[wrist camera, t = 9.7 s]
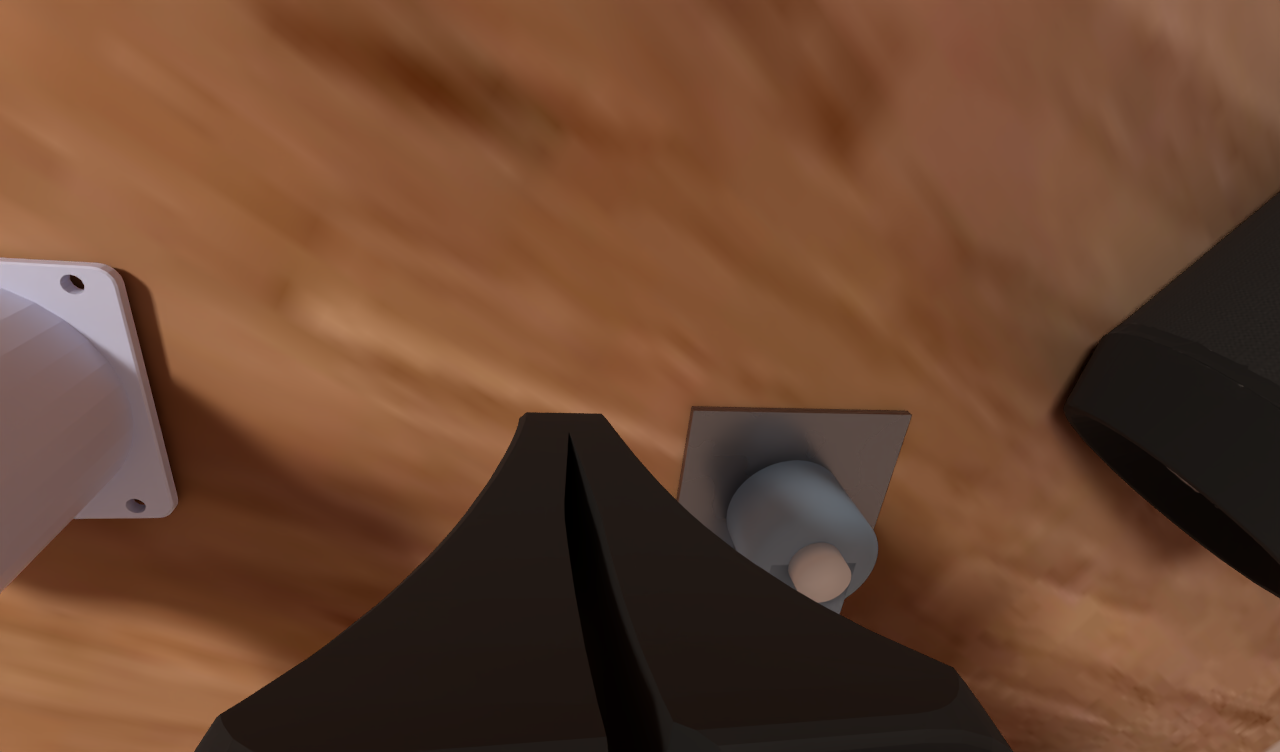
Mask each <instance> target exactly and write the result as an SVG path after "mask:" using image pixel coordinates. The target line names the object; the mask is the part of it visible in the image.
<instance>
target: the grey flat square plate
mask: <svg viewBox="0 0 1280 752" xmlns="http://www.w3.org/2000/svg"><path fill="white" fill-rule="evenodd" d="M911 416H912V415H911V414H910V413H909V412H908V411H890V410H841V409H793V408H745V407H696V406H692V407H691V414H690V420H689V426H688V432H687V438H686V444H685V450H684V457H683V463H682V469H681V475H680V481H679V487H678V494H677V501H678V502H679V503H680V504H681V505H682V506H683V507H684V508H685V509H686V510H687V511H688V512H689V513H691V514H692V515H693V516H694V517H695V518H696V519H697V520H699V521H700V522H701V523H702V524H703V525H704V526H706V527H707V528H708V529H709V530H711V531H712V532H713V533H714V534H716V535H717V536H718V537H719V538H721V539H722V540H723V541H725V542H726V543H727V544H728V545H730V546H731V547H732V548H733V549H735V550H736V548H735V546H734V543H733V541H732V539H731V536H730V534H729V531H728V528H727V520H726V517H727V510H728V507H729V504H730V501H731V499H732V497H733V496H734V494H735V492H736V491H737V490H738V488H739V487H740V486H741V485H742V484H743V483H744V482H745V481H746V480H747V479H748V478H749V477H751V476H752V475H753V474H755V473H756V472H758V471H760V470H762V469H764V468H765V467H768V466H770V465H773V464H776V463H780V462H784V461H792V460H802V461H809V462H813V463H816V464H819V465H821V466H823V467H825V468H826V469H827V470H829V471H830V472H831V473H832V474H833V475H834V476H835V478H836V479H837V480H838V482H839V483H840V485H841V486H842V487H843V489H844V490H845V491H846V493H847V494H848V496H849V497H850V498H851V500H852V501H853V503H854V504H855V505H856V507H857V508H858V510H859V511H860V512H861V514H862V515H863V516H864V518H865V519H866V521H867V522H868V523H869V525H870V526H871V528H872V529H873V530H874V527H875V524H876V521H877V518H878V515H879V512H880V509H881V506H882V503H883V500H884V497H885V494H886V491H887V488H888V485H889V482H890V479H891V476H892V473H893V470H894V467H895V464H896V461H897V458H898V455H899V452H900V449H901V446H902V443H903V440H904V437H905V434H906V431H907V428H908V425H909V422H910V419H911Z"/></svg>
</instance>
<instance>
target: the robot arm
mask: <svg viewBox="0 0 1280 752" xmlns="http://www.w3.org/2000/svg"><path fill="white" fill-rule="evenodd" d="M70 275H74V276H76V277H78V278H79V279H81V280H82V282H83V284H84V289H80V288H78V287H76V286H75V285H73V283H72V282H71V280H70ZM134 499H138V500H140V501H142V502H143V503H144V504H145V505H142V504H138V503H137V502H135V501H134ZM177 505H178V496H177V492H176V488H175V484H174V480H173V476H172V472H171V468H170V464H169V460H168V456H167V452H166V448H165V444H164V440H163V436H162V432H161V428H160V424H159V420H158V416H157V412H156V408H155V404H154V400H153V396H152V392H151V388H150V384H149V380H148V376H147V372H146V368H145V364H144V360H143V356H142V352H141V348H140V344H139V340H138V336H137V332H136V328H135V324H134V320H133V316H132V312H131V308H130V304H129V300H128V296H127V292H126V288H125V284H124V281H123V279H122V277H121V275H120V274H119V273H118V272H117V271H116V270H115V269H113V268H112V267H110V266H108V265H105V264H101V263H92V262H73V261H55V260H36V259H17V258H0V593H1V592H2V591H3V590H4V589H5V588H6V587H7V586H8V585H9V584H10V583H11V582H12V581H13V580H14V579H15V578H16V577H17V576H18V575H19V574H20V573H21V572H22V571H23V570H24V569H25V568H26V567H27V565H28V564H29V563H30V562H31V561H32V560H33V559H34V558H35V557H36V556H37V555H38V554H39V553H40V552H41V551H42V550H43V549H44V548H45V547H46V546H47V545H48V544H49V543H50V542H51V541H52V540H53V539H54V538H55V537H56V536H57V535H58V534H59V533H60V532H61V531H62V530H63V529H64V528H65V527H66V526H67V524H68V523H69V522H70V521H71V520H72V519H114V518H162V517H166V516H168V515H170V514H171V513H172V511H173V510H174V509H175V508H176V506H177ZM194 752H1013V751H1012V749H1011V748H1010V746H1009V745H1008V743H1007V742H1006V740H1005V739H1004V738H1003V736H1002V735H1001V733H1000V732H999V730H998V729H997V727H996V726H995V724H994V723H993V721H992V720H991V719H990V717H989V716H988V714H987V713H986V711H985V710H984V708H983V707H982V705H981V704H980V703H979V701H978V700H977V698H976V697H975V696H974V694H973V693H972V692H971V690H970V689H969V687H968V686H967V685H966V683H965V682H964V681H963V679H962V678H961V677H960V676H959V674H958V673H957V672H956V670H955V669H954V668H953V667H950V666H948V665H946V664H944V663H942V662H939V661H937V660H935V659H933V658H930V657H928V656H926V655H924V654H921V653H919V652H917V651H915V650H912V649H910V648H908V647H906V646H904V645H901V644H899V643H897V642H895V641H892V640H890V639H888V638H886V637H883V636H881V635H879V634H877V633H874V632H872V631H870V630H868V629H866V628H864V627H862V626H860V625H858V624H856V623H854V622H853V621H851V620H849V619H847V618H845V617H843V616H841V615H839V614H838V613H836V612H834V611H832V610H830V609H828V608H826V607H824V606H823V605H821V604H819V603H817V602H815V601H814V600H812V599H810V598H809V597H807V596H805V595H803V594H802V593H800V592H798V591H796V590H795V589H793V588H791V587H790V586H788V585H787V584H785V583H784V582H782V581H781V580H779V579H777V578H776V577H774V576H773V575H771V574H770V573H768V572H767V571H765V570H764V569H762V568H761V567H759V566H757V565H756V564H754V563H753V562H752V561H750V560H749V559H747V558H746V557H745V556H743V555H742V554H740V553H739V552H737V551H736V550H735V549H733V548H732V547H731V546H730V545H728V544H727V543H726V542H725V541H723V540H722V539H721V538H719V537H718V536H717V535H716V534H714V533H713V532H712V531H711V530H709V529H708V528H707V527H706V526H704V525H703V524H702V523H701V522H700V521H699V520H697V519H696V518H695V517H694V516H693V515H692V514H691V513H689V512H688V511H687V510H686V509H685V508H684V507H683V506H682V505H681V504H680V503H679V502H678V501H677V500H676V499H675V498H674V497H673V496H672V495H671V494H670V493H669V492H668V491H667V490H666V489H665V488H664V487H663V486H662V485H661V484H660V483H659V482H658V481H657V480H656V479H655V477H654V476H653V475H652V474H651V473H650V472H649V471H648V470H647V469H646V467H645V466H644V465H643V464H642V463H641V462H640V461H639V459H638V458H637V457H636V456H635V455H634V453H633V452H632V451H631V450H630V449H629V447H628V446H627V445H626V444H625V442H624V441H623V440H622V439H621V437H620V436H619V435H618V433H617V432H616V431H615V430H614V428H613V427H612V426H611V424H610V423H609V422H608V420H607V419H606V418H605V417H604V416H603V415H602V414H584V413H529V412H527V413H525V414H524V415H523V416H522V417H521V418H519V423H518V427H517V430H516V432H515V435H514V437H513V439H512V441H511V443H510V445H509V447H508V449H507V451H506V453H505V455H504V457H503V459H502V460H501V462H500V464H499V465H498V467H497V469H496V470H495V472H494V474H493V475H492V477H491V479H490V480H489V482H488V483H487V485H486V486H485V487H484V489H483V490H482V492H481V493H480V494H479V496H478V497H477V498H476V500H475V501H474V503H473V504H472V505H471V507H470V508H469V509H468V511H467V512H466V514H465V515H464V516H463V517H462V519H461V520H460V521H459V522H458V524H457V525H456V526H455V527H454V528H453V530H452V531H451V532H450V533H449V534H448V535H447V537H446V538H445V539H444V540H443V541H442V542H441V543H440V544H439V545H438V546H437V548H436V549H435V550H434V551H433V552H432V553H431V554H430V555H429V556H428V557H427V558H426V559H425V560H424V561H423V562H422V563H421V564H420V565H419V566H418V567H417V568H416V569H415V570H414V571H413V572H412V573H411V574H410V575H409V576H408V577H407V578H406V579H405V580H404V581H403V582H402V583H401V584H400V585H399V586H397V587H396V588H395V589H394V590H393V591H392V592H391V593H390V594H389V595H387V596H386V597H385V598H384V599H383V600H382V601H381V602H379V603H378V604H377V605H376V606H375V607H373V608H372V609H371V610H370V611H368V612H367V613H366V614H365V615H363V616H362V617H361V618H360V619H358V620H357V621H356V622H355V623H353V624H352V625H351V626H350V627H348V628H347V629H346V630H345V631H343V632H342V633H341V634H339V635H338V636H337V637H336V638H334V639H333V640H332V641H331V642H329V643H328V644H327V645H326V646H324V647H323V648H321V649H320V650H319V651H317V652H316V653H315V654H313V655H312V656H310V657H309V658H308V659H306V660H305V661H303V662H301V663H300V664H298V665H297V666H295V667H294V668H292V669H291V670H289V671H288V672H286V673H285V674H283V675H281V676H280V677H278V678H277V679H275V680H274V681H272V682H271V683H269V684H268V685H266V686H265V687H263V688H261V689H260V690H258V691H257V692H255V693H254V694H252V695H251V696H249V697H248V698H246V699H245V700H243V701H241V702H240V703H238V704H237V705H235V706H233V707H232V708H230V709H228V710H227V711H225V712H223V713H222V714H220V715H219V716H218V717H217V718H216V719H215V721H214V722H213V724H212V725H211V727H210V728H209V730H208V731H207V733H206V734H205V736H204V737H203V739H202V740H201V742H200V743H199V745H198V747H197V748H196V750H195V751H194Z"/></svg>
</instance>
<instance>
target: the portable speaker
mask: <svg viewBox="0 0 1280 752" xmlns="http://www.w3.org/2000/svg"><path fill="white" fill-rule="evenodd" d="M1063 410H1064V413H1065V415H1066V418H1067V420H1068V421H1069V423H1070V424H1071V425H1072V426H1073V428H1074V429H1075V430H1076V432H1077V433H1078V434H1079V435H1080V437H1081V438H1082V439H1083V440H1084V441H1085V442H1086V444H1087V445H1088V446H1089V447H1090V448H1091V449H1092V450H1093V451H1094V452H1095V453H1096V454H1097V455H1098V456H1099V457H1100V458H1101V459H1102V460H1103V461H1104V462H1105V463H1106V464H1107V465H1108V466H1109V467H1110V468H1111V469H1112V470H1113V471H1114V472H1115V473H1116V474H1118V475H1119V476H1120V477H1121V478H1122V479H1123V480H1124V481H1125V482H1126V483H1127V484H1128V485H1130V486H1131V487H1132V488H1133V489H1134V490H1135V491H1136V492H1137V493H1138V494H1140V495H1141V496H1142V497H1143V498H1144V499H1145V500H1147V501H1148V502H1149V503H1150V504H1151V505H1152V506H1154V507H1155V508H1156V509H1157V510H1158V511H1159V512H1161V513H1162V514H1163V515H1164V516H1166V517H1167V518H1168V519H1169V520H1171V521H1172V522H1173V523H1174V524H1175V525H1177V526H1178V527H1179V528H1180V529H1182V530H1183V531H1184V532H1185V533H1186V534H1188V535H1189V536H1190V537H1192V538H1193V539H1194V540H1196V541H1197V542H1198V543H1200V544H1201V545H1202V546H1204V547H1205V548H1206V549H1208V550H1209V551H1210V552H1211V553H1213V554H1214V555H1215V556H1217V557H1218V558H1219V559H1221V560H1222V561H1224V562H1225V563H1226V564H1228V565H1229V566H1231V567H1232V568H1234V569H1235V570H1237V571H1238V572H1239V573H1241V574H1242V575H1244V576H1245V577H1247V578H1248V579H1250V580H1251V581H1252V582H1254V583H1256V584H1257V585H1259V586H1260V587H1262V588H1264V589H1265V590H1267V591H1269V592H1270V593H1272V594H1274V595H1275V596H1277V597H1279V598H1280V192H1279V193H1278V194H1277V195H1276V196H1274V197H1273V198H1272V199H1271V200H1270V201H1268V202H1267V203H1266V204H1265V205H1264V206H1262V207H1261V208H1260V209H1259V210H1258V211H1256V212H1255V213H1254V214H1253V215H1252V216H1250V217H1249V218H1248V219H1247V220H1246V221H1244V222H1243V223H1242V224H1241V225H1240V226H1238V227H1237V228H1236V229H1235V230H1234V231H1232V232H1231V233H1230V234H1229V235H1228V236H1226V237H1225V238H1224V239H1223V240H1222V241H1220V242H1219V243H1218V244H1217V245H1216V246H1214V247H1213V248H1212V249H1211V250H1210V251H1208V252H1207V253H1206V254H1205V255H1204V256H1202V257H1201V258H1200V259H1199V260H1198V261H1196V262H1195V263H1194V264H1193V265H1192V266H1190V267H1189V268H1188V269H1187V270H1186V271H1184V272H1183V273H1182V274H1181V275H1180V276H1178V277H1177V278H1176V279H1175V280H1174V281H1172V282H1171V283H1170V284H1169V285H1168V286H1166V287H1165V288H1164V289H1163V290H1162V291H1160V292H1159V293H1158V294H1157V295H1156V296H1154V297H1153V298H1152V299H1151V300H1150V301H1148V302H1147V303H1146V304H1145V305H1144V306H1142V307H1141V308H1140V309H1139V310H1138V311H1136V312H1135V313H1134V314H1133V315H1132V316H1130V317H1129V318H1128V319H1127V320H1125V321H1124V322H1123V323H1121V324H1120V325H1119V326H1117V327H1116V328H1115V329H1113V330H1112V331H1111V332H1109V333H1108V334H1107V335H1105V336H1103V337H1102V338H1101V340H1100V342H1099V343H1098V345H1097V347H1096V349H1095V350H1094V352H1093V354H1092V356H1091V358H1090V359H1089V361H1088V363H1087V365H1086V367H1085V368H1084V370H1083V372H1082V374H1081V376H1080V377H1079V379H1078V381H1077V383H1076V385H1075V386H1074V388H1073V390H1072V392H1071V394H1070V395H1069V397H1068V399H1067V401H1066V403H1065V405H1064V409H1063Z"/></svg>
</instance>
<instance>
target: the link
mask: <svg viewBox="0 0 1280 752" xmlns="http://www.w3.org/2000/svg"><path fill="white" fill-rule="evenodd" d="M726 520H727V528H728V531H729V534H730V536H731V539H732V541H733V543H734V546H735V548H736V551H737V552H739V553H740V554H742V555H743V556H745V557H746V558H747V559H749V560H750V561H752V562H753V563H754V564H756V565H757V566H759V567H761V568H762V569H764V570H765V571H767V572H768V573H770V574H771V575H773V576H774V577H776V578H777V579H779V580H781V581H782V582H784V583H785V584H787V585H788V586H790V587H791V588H793V589H795V590H796V591H798V592H800V593H802V594H803V595H805V596H807V597H809V598H810V599H812V600H814V601H815V602H817V603H819V604H821V605H823V606H824V607H826V608H828V609H830V610H832V611H834V612H836V613H838V614H840V611H841V608H842V605H843V602H844V599H845V598H847V597H848V596H849V595H851V594H852V593H853V592H855V591H856V590H857V589H858V588H859V587H860V586H861V585H862V584H863V583H864V582H865V580H866V579H867V578H868V576H869V575H870V573H871V571H872V570H873V567H874V565H875V563H876V559H877V555H878V542H877V537H876V535H875V533H874V531H873V529H872V528H871V526H870V525H869V523H868V522H867V521H866V519H865V518H864V516H863V515H862V514H861V512H860V511H859V510H858V508H857V507H856V505H855V504H854V503H853V501H852V500H851V498H850V497H849V496H848V494H847V493H846V491H845V490H844V489H843V487H842V486H841V485H840V483H839V482H838V480H837V479H836V478H835V476H834V475H833V474H832V473H831V472H830V471H829V470H827V469H826V468H825V467H823V466H821V465H819V464H816V463H813V462H809V461H802V460H792V461H784V462H780V463H776V464H773V465H770V466H768V467H765V468H764V469H762V470H760V471H758V472H756V473H755V474H753V475H752V476H751V477H749V478H748V479H747V480H746V481H745V482H744V483H743V484H742V485H741V486H740V487H739V488H738V490H737V491H736V492H735V494H734V496H733V497H732V499H731V501H730V504H729V507H728V510H727V517H726Z"/></svg>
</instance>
